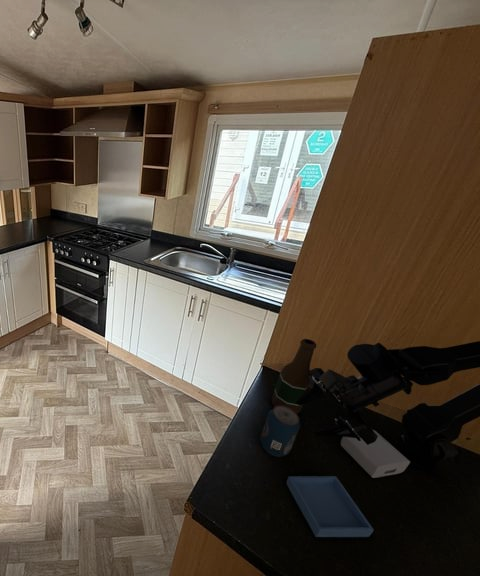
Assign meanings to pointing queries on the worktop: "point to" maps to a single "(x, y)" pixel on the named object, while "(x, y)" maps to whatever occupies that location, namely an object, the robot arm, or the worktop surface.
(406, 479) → the worktop surface
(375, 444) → the charger
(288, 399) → the beer bottle
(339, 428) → the robot arm
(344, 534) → the blue tray
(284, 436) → the soda can
